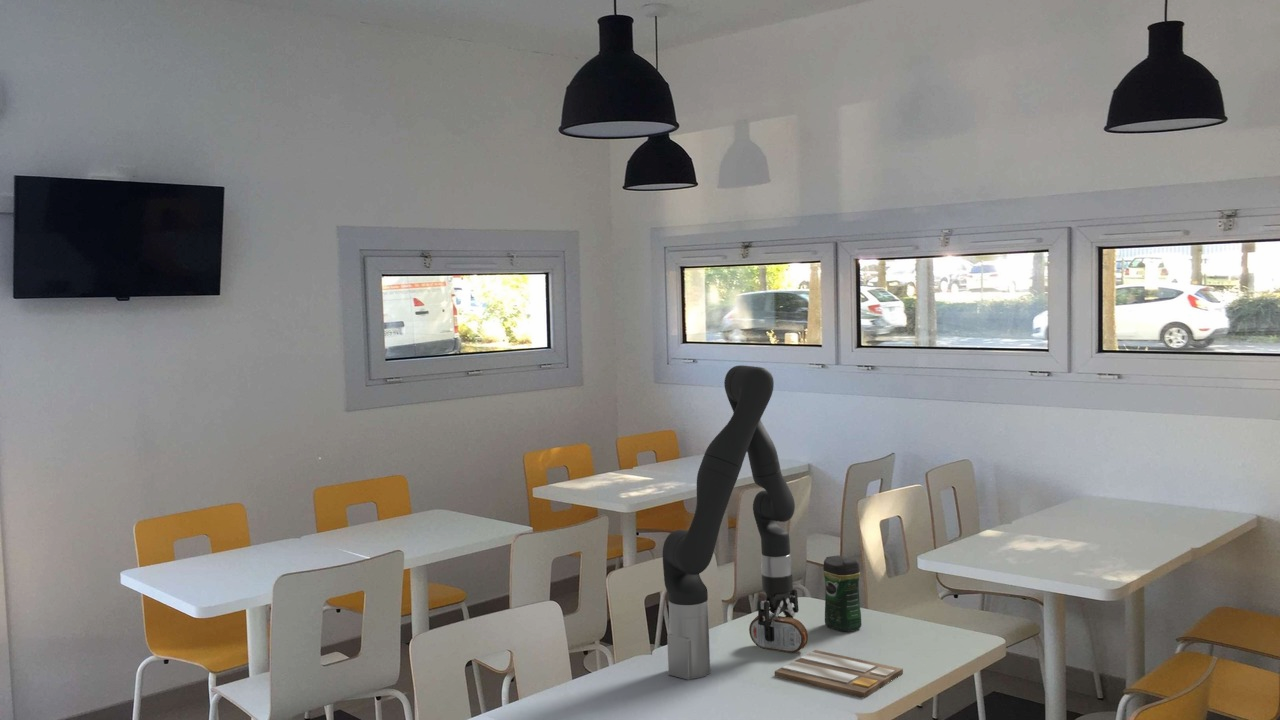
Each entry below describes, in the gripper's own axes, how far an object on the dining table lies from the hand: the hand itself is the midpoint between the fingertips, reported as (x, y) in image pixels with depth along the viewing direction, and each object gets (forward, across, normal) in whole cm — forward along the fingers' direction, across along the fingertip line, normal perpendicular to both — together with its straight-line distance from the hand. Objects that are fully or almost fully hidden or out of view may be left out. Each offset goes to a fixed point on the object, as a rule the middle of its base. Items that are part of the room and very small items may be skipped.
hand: (779, 636), depth 254 cm
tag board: (+3, -7, -21) cm, 22 cm away
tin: (+4, 0, 0) cm, 4 cm away
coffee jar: (+4, +25, -3) cm, 25 cm away
